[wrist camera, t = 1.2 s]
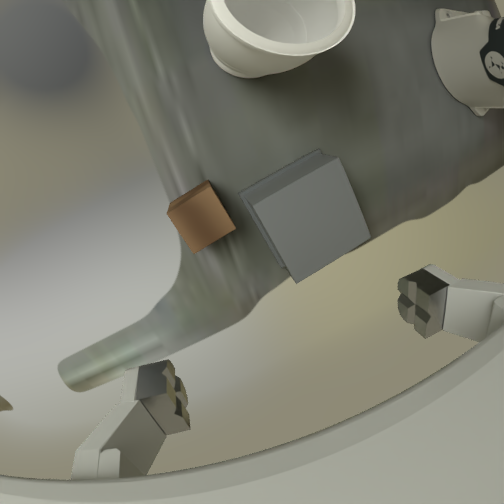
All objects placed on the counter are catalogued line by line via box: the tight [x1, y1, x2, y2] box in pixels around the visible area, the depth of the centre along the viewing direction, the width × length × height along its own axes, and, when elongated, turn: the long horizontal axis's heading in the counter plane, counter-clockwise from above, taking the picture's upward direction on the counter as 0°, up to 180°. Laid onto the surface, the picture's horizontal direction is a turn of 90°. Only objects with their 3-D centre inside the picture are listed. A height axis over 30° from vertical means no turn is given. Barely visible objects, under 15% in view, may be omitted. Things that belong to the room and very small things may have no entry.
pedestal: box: [238, 149, 371, 284], centre depth 34 cm, size 11×11×6 cm
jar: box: [203, 0, 355, 78], centre depth 22 cm, size 11×10×15 cm
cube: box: [167, 180, 236, 254], centre depth 33 cm, size 5×5×5 cm
